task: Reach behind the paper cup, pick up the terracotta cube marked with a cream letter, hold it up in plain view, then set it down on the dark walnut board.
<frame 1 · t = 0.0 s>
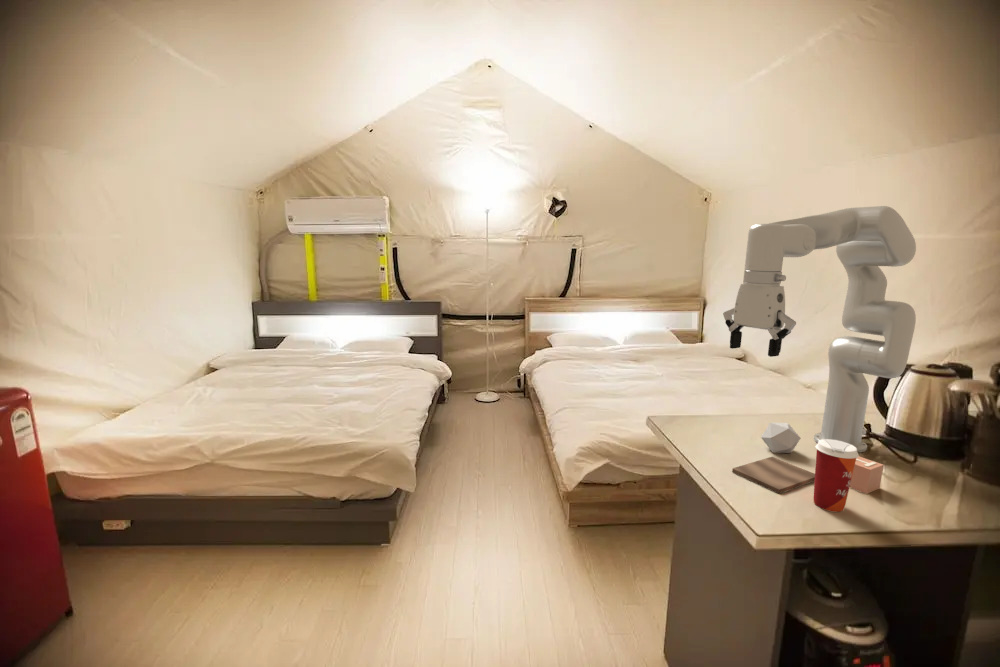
hand: (753, 351, 113), 31 cm above the table, tool pointing down, fingers open, 9 cm apart
paper cup: (828, 506, 105), on the table
lettered cube: (858, 485, 114), on the table
die: (778, 451, 134), on the table
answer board: (774, 475, 118), on the table
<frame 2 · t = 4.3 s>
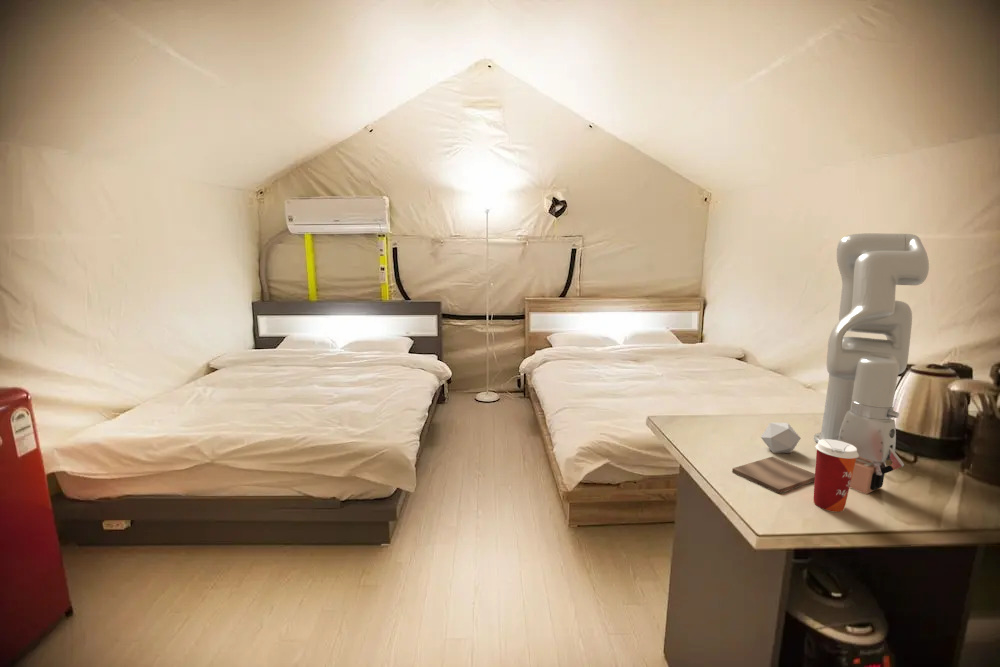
hand: (859, 481, 114), 1 cm above the table, tool pointing down, fingers closed on lettered cube, 6 cm apart
lettered cube: (858, 485, 114), on the table, touching gripper
everything else where it was.
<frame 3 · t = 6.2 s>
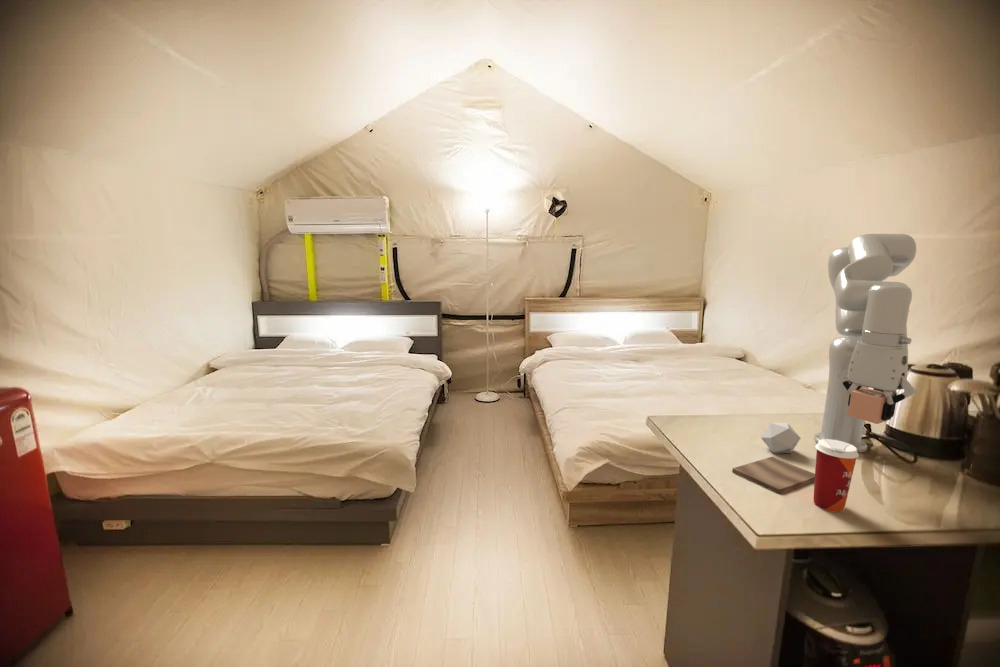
hand: (869, 413, 112), 18 cm above the table, tool pointing down, fingers closed on lettered cube, 6 cm apart
lettered cube: (868, 417, 112), point 17 cm above the table, touching gripper
everything else where it was.
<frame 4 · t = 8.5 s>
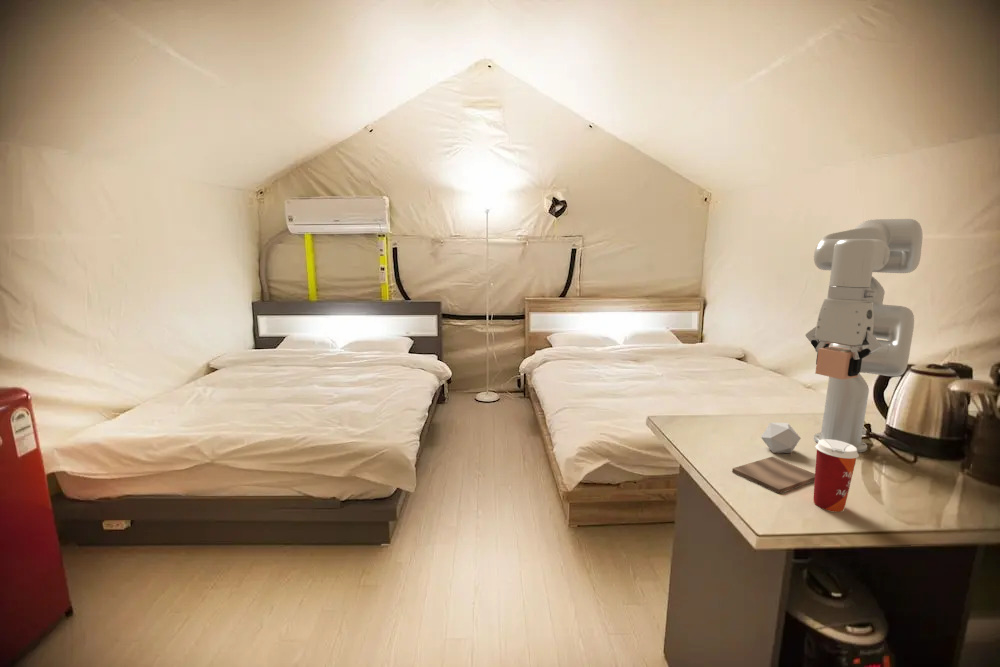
hand: (836, 371, 111), 27 cm above the table, tool pointing down, fingers closed on lettered cube, 6 cm apart
lettered cube: (836, 375, 111), point 27 cm above the table, touching gripper
everything else where it was.
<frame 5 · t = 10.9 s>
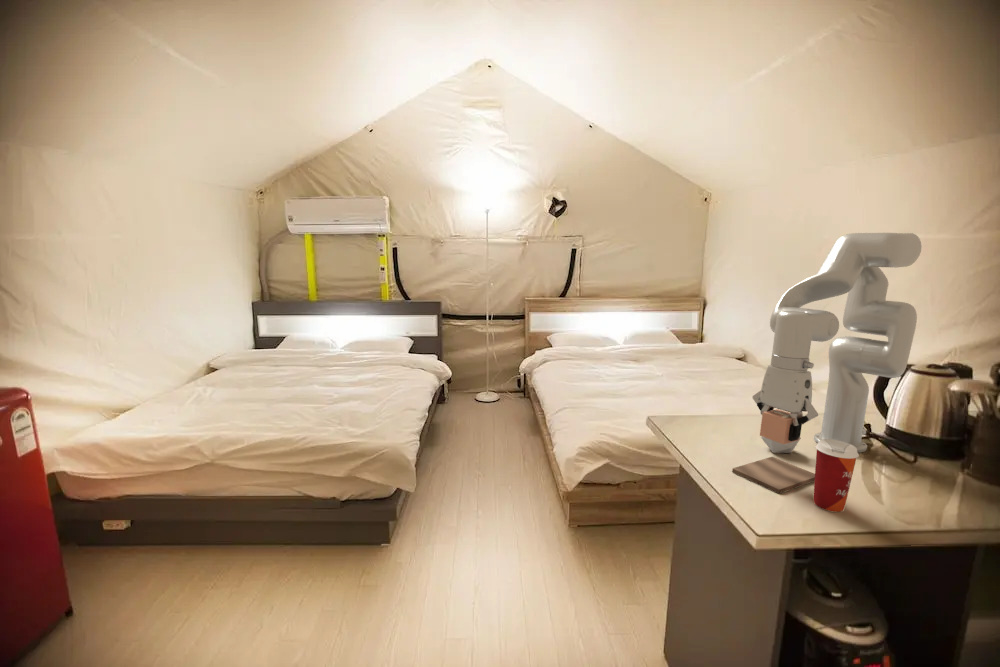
hand: (779, 434, 116), 11 cm above the table, tool pointing down, fingers closed on lettered cube, 6 cm apart
lettered cube: (779, 437, 116), point 10 cm above the table, touching gripper
everything else where it was.
when the fingers open (3 cm above the table, at t = 12.7 s): lettered cube drops 1 cm, resting on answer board.
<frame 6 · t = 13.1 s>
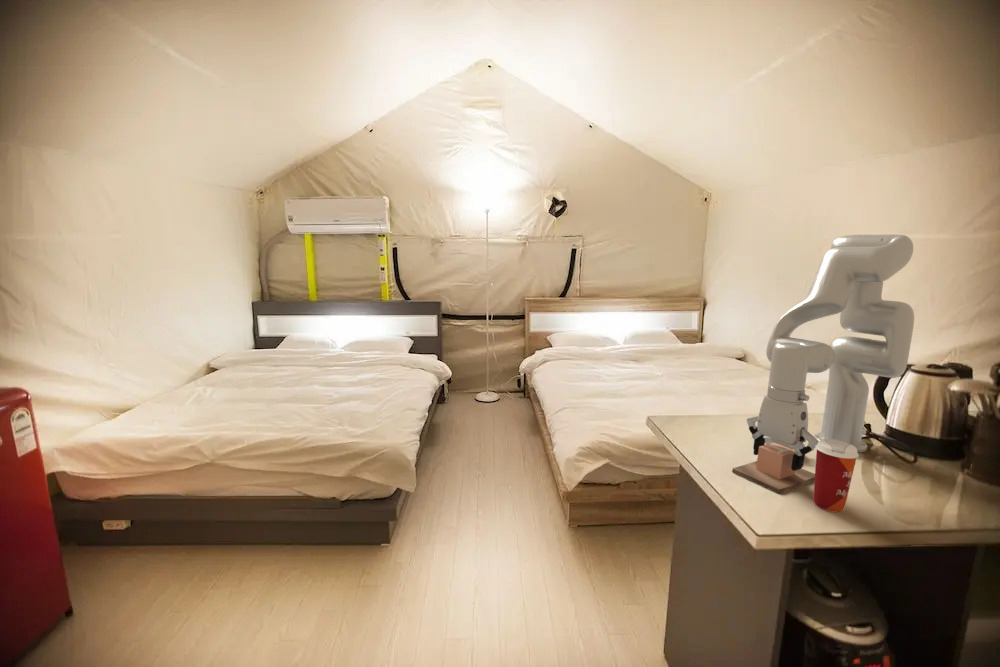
hand: (776, 461, 118), 4 cm above the table, tool pointing down, fingers open, 9 cm apart
lettered cube: (775, 471, 118), point 1 cm above the table, touching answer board
everything else where it was.
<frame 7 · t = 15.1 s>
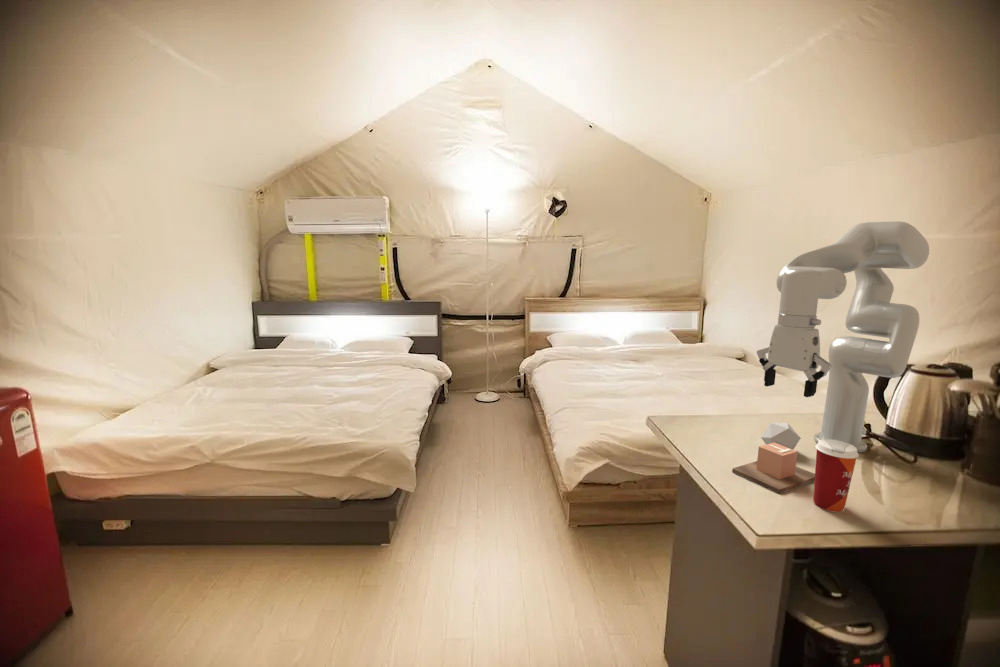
hand: (788, 390, 117), 21 cm above the table, tool pointing down, fingers open, 9 cm apart
nothing on the table moved.
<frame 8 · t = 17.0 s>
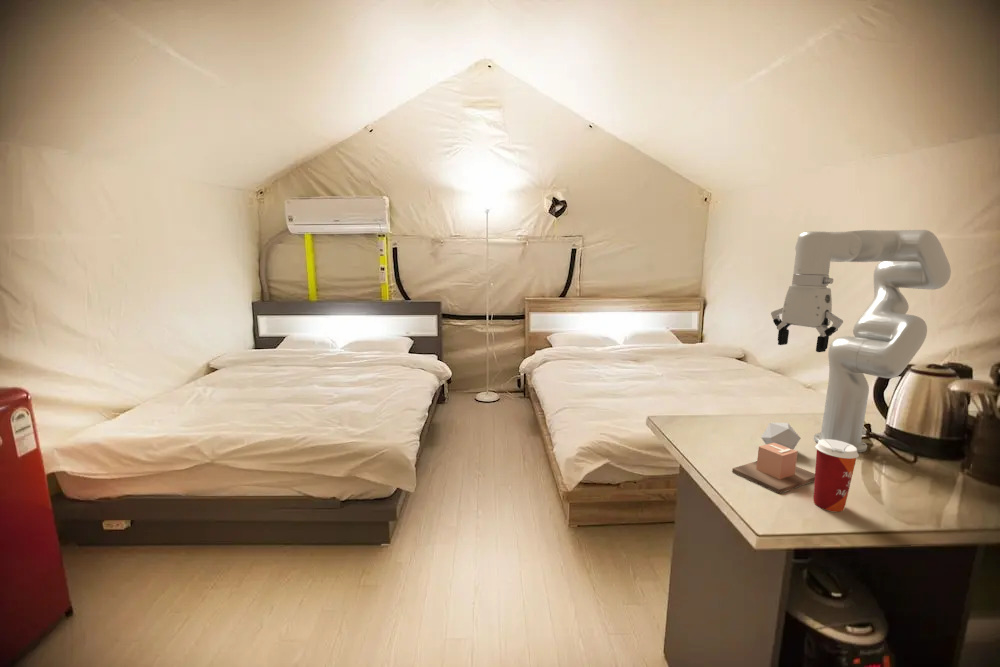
hand: (800, 347, 124), 30 cm above the table, tool pointing down, fingers open, 9 cm apart
nothing on the table moved.
at the end: lettered cube inside the target area on the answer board (0.0 cm from its centre), point 1.0 cm above the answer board's base; lettered cube tilted 0°; paper cup moved 0.2 cm from its start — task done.
